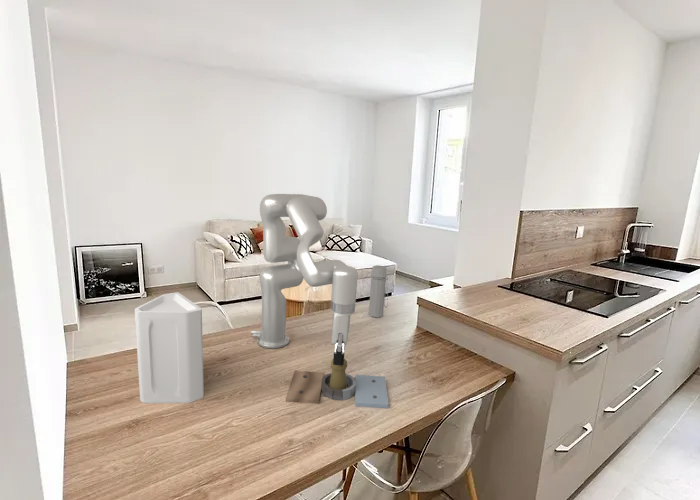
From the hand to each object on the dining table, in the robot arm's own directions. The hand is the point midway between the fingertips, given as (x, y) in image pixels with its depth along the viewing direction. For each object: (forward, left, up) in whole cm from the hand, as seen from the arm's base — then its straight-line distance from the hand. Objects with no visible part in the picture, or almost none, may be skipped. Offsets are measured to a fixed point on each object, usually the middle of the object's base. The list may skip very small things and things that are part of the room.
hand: (339, 356), depth 119 cm
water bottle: (+16, +67, -12) cm, 70 cm away
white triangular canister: (-52, -7, -12) cm, 53 cm away
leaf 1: (-7, 0, -11) cm, 13 cm away
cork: (0, -1, -12) cm, 12 cm away
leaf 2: (+9, 0, -11) cm, 14 cm away
